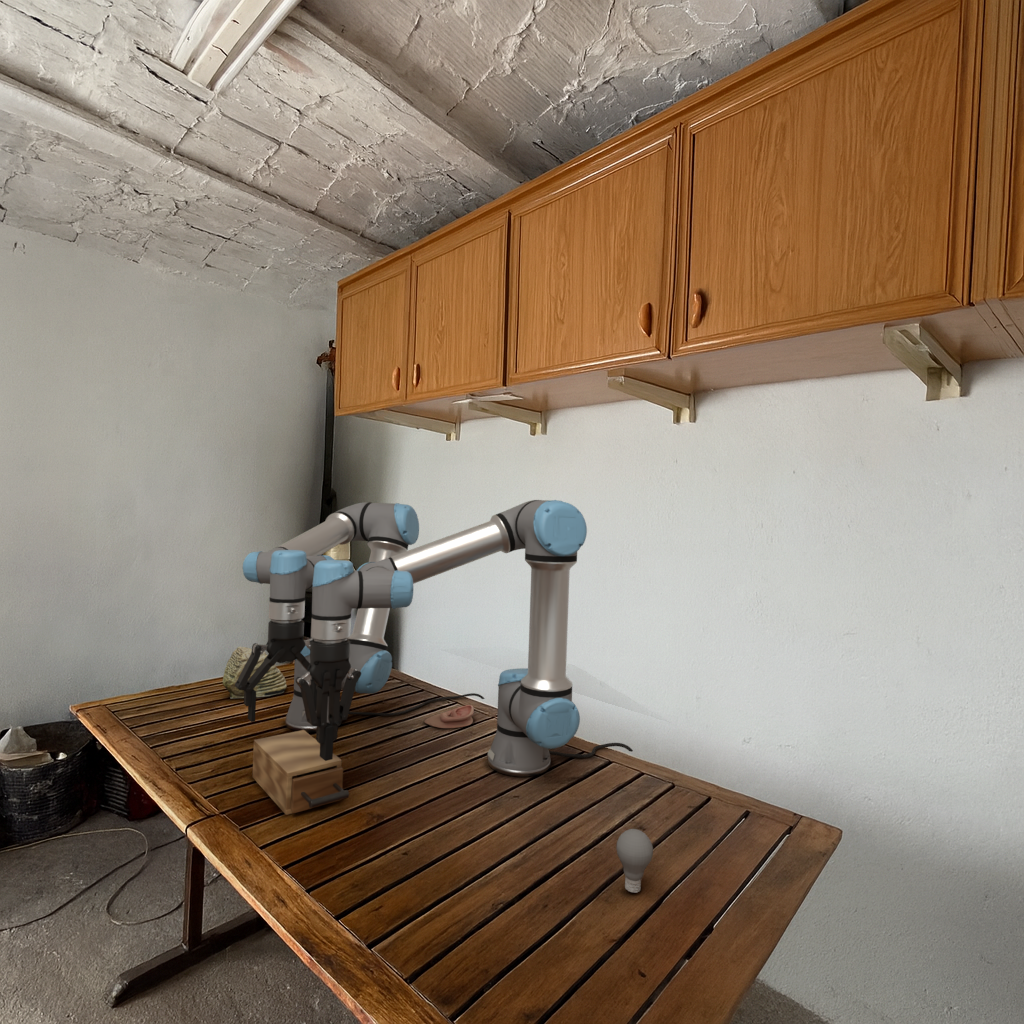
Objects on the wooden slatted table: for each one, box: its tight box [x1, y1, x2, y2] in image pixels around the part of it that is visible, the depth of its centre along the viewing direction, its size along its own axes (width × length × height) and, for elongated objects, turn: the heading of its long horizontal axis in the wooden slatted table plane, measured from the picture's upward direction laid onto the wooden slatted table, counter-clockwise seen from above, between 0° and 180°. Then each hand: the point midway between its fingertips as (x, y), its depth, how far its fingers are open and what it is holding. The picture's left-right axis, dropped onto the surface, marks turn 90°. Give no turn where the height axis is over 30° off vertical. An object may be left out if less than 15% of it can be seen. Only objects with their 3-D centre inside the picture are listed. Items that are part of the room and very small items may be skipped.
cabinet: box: [252, 730, 342, 816], centre depth 137 cm, size 20×11×8 cm, turn 40°
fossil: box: [222, 646, 288, 699], centre depth 198 cm, size 9×18×15 cm, turn 132°
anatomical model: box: [424, 704, 475, 729], centre depth 181 cm, size 13×4×12 cm
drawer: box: [291, 766, 350, 814], centre depth 133 cm, size 25×10×6 cm, turn 40°
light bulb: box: [615, 828, 654, 894], centre depth 106 cm, size 6×6×10 cm
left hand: (283, 714), depth 141 cm, fingers open, 13 cm apart
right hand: (326, 757), depth 125 cm, fingers closed
